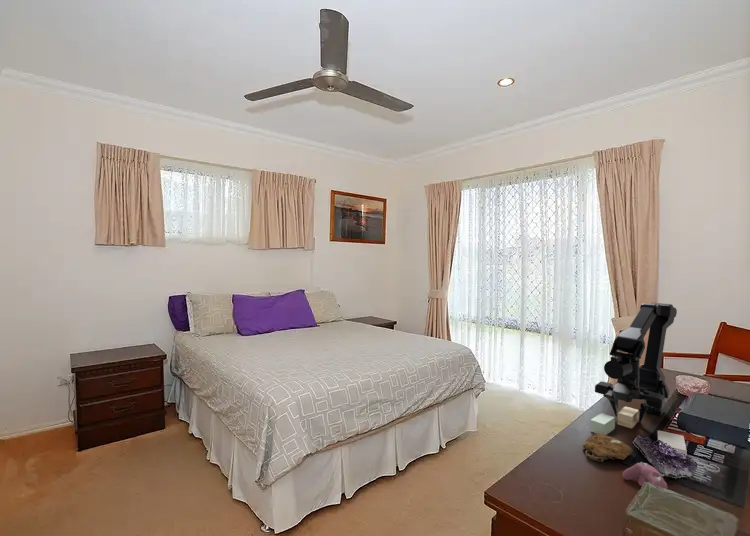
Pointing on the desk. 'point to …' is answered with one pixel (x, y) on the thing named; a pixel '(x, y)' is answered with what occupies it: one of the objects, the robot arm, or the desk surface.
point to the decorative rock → (606, 448)
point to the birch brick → (628, 417)
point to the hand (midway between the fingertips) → (628, 419)
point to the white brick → (673, 441)
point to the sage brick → (602, 424)
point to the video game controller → (644, 474)
